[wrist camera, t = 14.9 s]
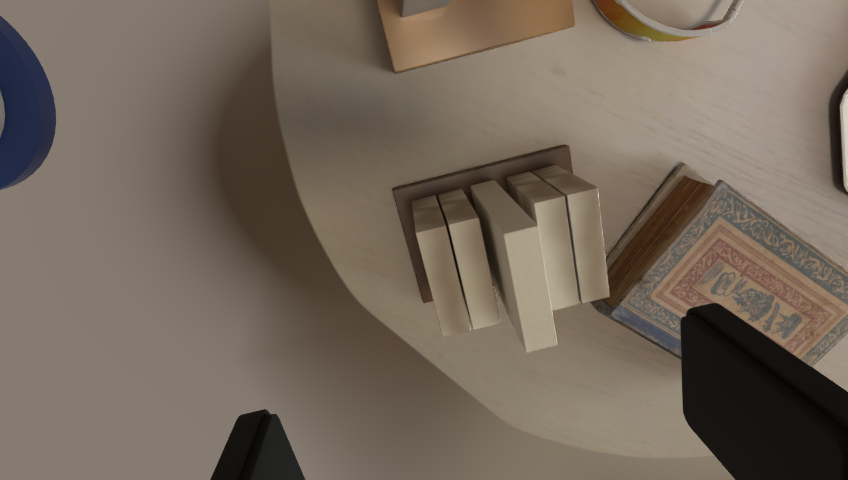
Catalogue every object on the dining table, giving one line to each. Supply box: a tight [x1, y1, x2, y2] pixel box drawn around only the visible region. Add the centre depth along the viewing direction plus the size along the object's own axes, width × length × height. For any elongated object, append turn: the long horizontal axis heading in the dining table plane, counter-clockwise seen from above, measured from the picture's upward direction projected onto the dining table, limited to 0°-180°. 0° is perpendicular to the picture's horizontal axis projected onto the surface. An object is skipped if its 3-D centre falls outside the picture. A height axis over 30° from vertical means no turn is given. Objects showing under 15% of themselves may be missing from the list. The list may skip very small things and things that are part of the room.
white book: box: [470, 180, 557, 352], centre depth 40 cm, size 2×10×15 cm, turn 13°
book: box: [590, 163, 848, 367], centre depth 49 cm, size 17×7×25 cm
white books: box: [393, 145, 610, 337], centre depth 43 cm, size 18×13×11 cm
